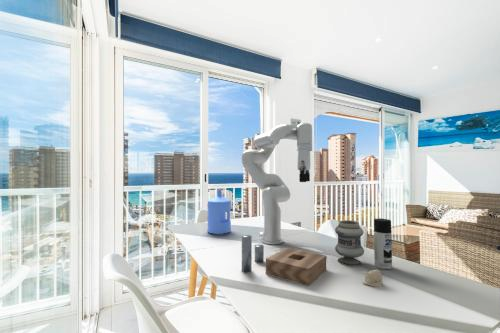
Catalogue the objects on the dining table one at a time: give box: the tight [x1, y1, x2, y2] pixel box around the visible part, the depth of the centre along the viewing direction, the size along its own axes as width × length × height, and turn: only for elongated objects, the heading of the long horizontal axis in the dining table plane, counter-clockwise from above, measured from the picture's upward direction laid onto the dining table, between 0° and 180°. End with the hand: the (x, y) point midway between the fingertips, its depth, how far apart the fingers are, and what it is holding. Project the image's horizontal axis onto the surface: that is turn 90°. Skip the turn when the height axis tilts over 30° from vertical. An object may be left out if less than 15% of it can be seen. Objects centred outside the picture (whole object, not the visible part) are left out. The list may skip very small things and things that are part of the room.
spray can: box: [373, 218, 393, 270], centre depth 109 cm, size 7×7×20 cm
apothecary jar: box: [334, 219, 365, 267], centre depth 114 cm, size 12×12×18 cm
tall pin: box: [241, 234, 253, 274], centre depth 104 cm, size 4×4×14 cm
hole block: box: [265, 247, 327, 287], centre depth 103 cm, size 18×18×6 cm
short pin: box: [254, 244, 265, 264], centre depth 115 cm, size 4×4×7 cm
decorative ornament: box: [362, 269, 383, 288], centre depth 92 cm, size 4×8×5 cm, turn 109°
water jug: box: [206, 189, 232, 235], centre depth 171 cm, size 16×16×28 cm
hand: (304, 181), depth 130 cm, fingers open, 9 cm apart
